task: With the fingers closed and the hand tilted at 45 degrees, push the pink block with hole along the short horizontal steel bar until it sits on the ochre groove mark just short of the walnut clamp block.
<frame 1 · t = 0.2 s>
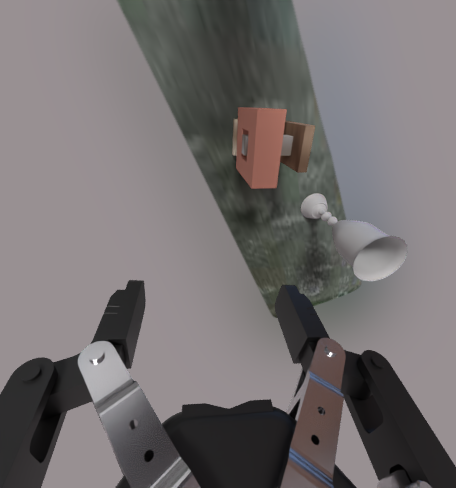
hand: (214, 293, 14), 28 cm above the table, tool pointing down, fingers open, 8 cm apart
pink block with hole: (256, 145, 29), point 8 cm above the table, slide at 0.0 cm
pipe stand: (254, 137, 36), on the table
chalice: (313, 205, 44), on the table
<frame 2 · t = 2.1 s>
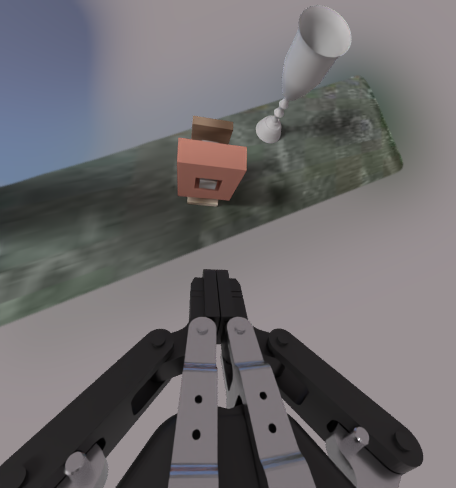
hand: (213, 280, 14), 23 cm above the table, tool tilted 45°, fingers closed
pink block with hole: (208, 174, 32), point 8 cm above the table, slide at 0.0 cm
pipe stand: (203, 185, 40), on the table
chalice: (268, 131, 44), on the table
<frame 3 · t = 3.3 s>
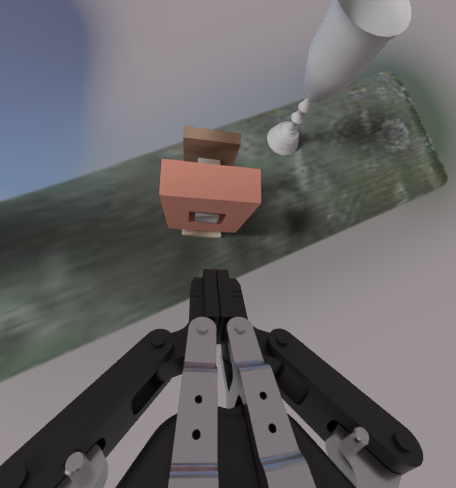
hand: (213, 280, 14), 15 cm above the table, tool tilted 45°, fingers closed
pink block with hole: (206, 204, 23), point 8 cm above the table, slide at 0.0 cm
pipe stand: (202, 211, 31), on the table
chalice: (282, 141, 36), on the table
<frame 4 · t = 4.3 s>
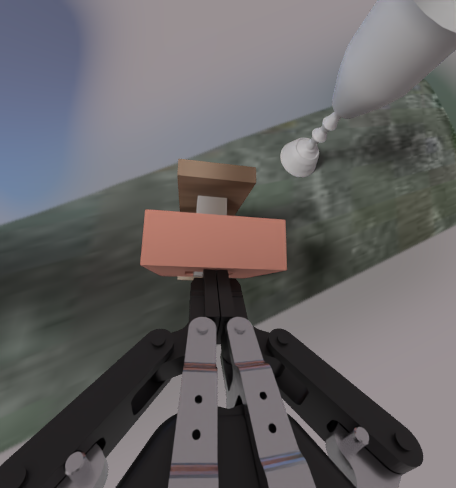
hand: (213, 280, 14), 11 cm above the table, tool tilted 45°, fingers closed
pink block with hole: (209, 253, 18), point 8 cm above the table, slide at 0.1 cm, touching gripper
pipe stand: (202, 248, 26), on the table
chalice: (298, 159, 30), on the table
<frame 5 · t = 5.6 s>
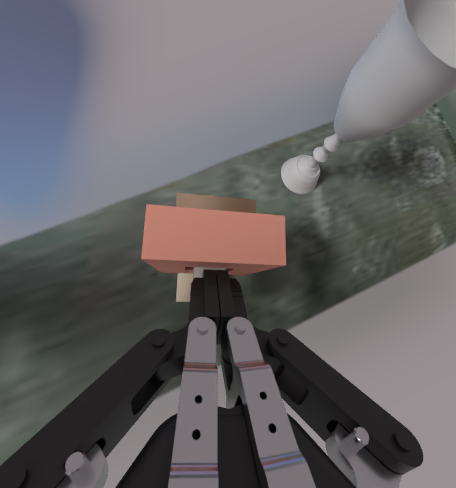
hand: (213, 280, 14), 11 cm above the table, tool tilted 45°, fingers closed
pink block with hole: (209, 250, 18), point 8 cm above the table, slide at 2.6 cm
pipe stand: (201, 268, 25), on the table
chalice: (298, 176, 30), on the table
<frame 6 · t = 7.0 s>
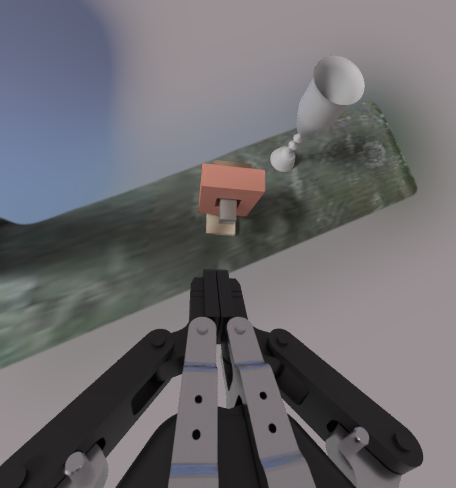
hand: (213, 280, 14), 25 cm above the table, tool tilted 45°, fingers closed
pink block with hole: (227, 193, 34), point 8 cm above the table, slide at 2.6 cm
pipe stand: (220, 215, 41), on the table
chalice: (282, 160, 46), on the table
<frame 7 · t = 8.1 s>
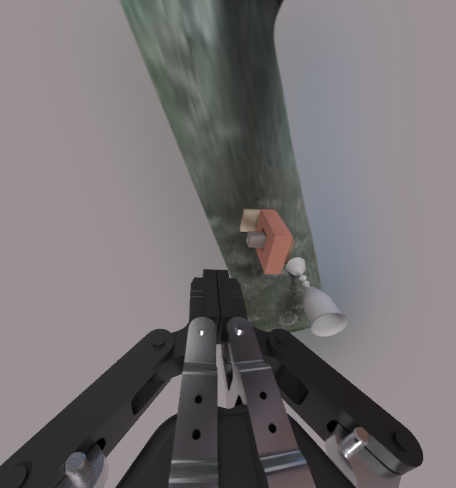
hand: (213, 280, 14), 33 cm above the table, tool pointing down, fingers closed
pink block with hole: (270, 240, 44), point 8 cm above the table, slide at 2.6 cm
pipe stand: (257, 220, 50), on the table
chalice: (295, 264, 59), on the table
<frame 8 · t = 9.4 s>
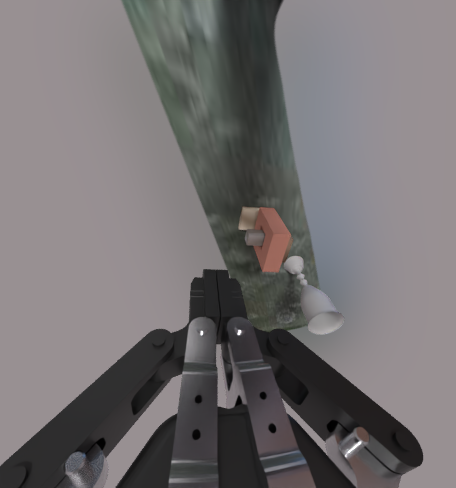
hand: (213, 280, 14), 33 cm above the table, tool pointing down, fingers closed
pink block with hole: (268, 238, 44), point 8 cm above the table, slide at 2.6 cm
pipe stand: (255, 218, 50), on the table
chalice: (293, 263, 59), on the table
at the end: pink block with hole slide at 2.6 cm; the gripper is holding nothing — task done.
